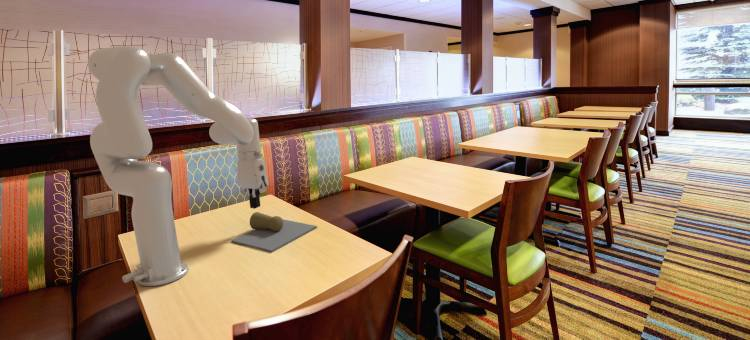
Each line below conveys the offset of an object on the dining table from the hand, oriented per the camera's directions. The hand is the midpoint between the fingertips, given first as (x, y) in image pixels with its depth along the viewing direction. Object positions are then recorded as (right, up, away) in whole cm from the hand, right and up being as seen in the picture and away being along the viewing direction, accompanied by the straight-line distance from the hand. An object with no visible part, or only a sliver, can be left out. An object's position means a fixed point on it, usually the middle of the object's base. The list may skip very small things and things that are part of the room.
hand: (255, 207), depth 138 cm
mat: (+8, -9, -4) cm, 12 cm away
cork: (-1, -5, +2) cm, 5 cm away
